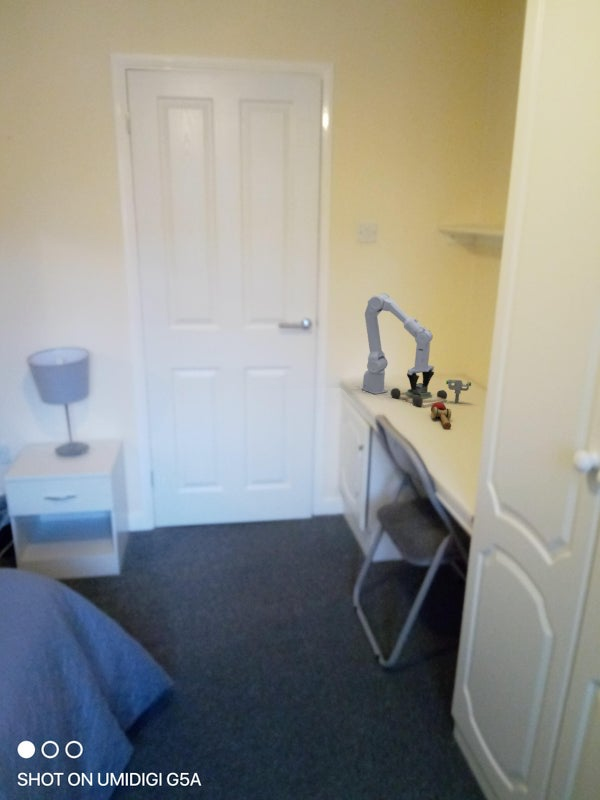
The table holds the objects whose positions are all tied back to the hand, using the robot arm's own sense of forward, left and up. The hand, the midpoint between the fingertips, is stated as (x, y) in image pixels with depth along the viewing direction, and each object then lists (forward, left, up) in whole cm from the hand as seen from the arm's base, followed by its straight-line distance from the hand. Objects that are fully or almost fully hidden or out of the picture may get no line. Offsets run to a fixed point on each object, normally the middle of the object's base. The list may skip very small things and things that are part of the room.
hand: (419, 388), depth 261 cm
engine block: (+1, 0, -4) cm, 4 cm away
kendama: (+25, -14, -5) cm, 30 cm away
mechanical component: (+13, +10, -5) cm, 17 cm away
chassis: (0, 0, -5) cm, 5 cm away
